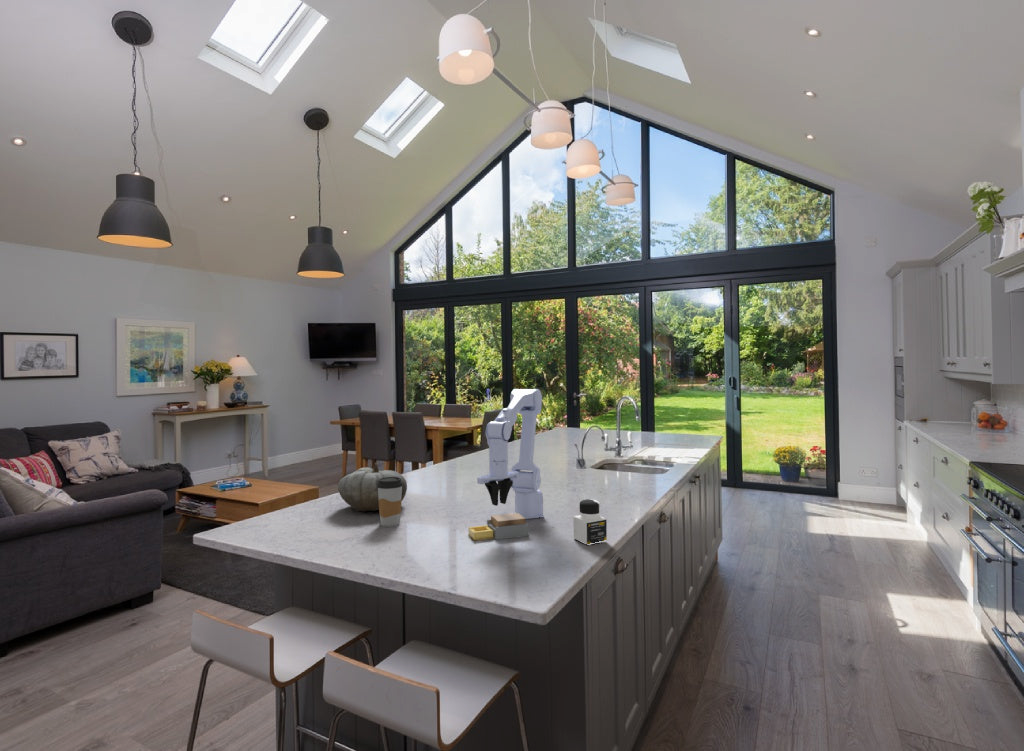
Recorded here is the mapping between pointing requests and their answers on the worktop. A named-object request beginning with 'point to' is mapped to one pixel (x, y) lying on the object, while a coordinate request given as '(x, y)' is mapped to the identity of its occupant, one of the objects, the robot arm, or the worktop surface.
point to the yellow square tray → (480, 532)
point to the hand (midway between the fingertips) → (498, 504)
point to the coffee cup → (390, 500)
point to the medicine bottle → (590, 523)
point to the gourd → (366, 487)
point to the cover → (507, 519)
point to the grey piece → (509, 530)
